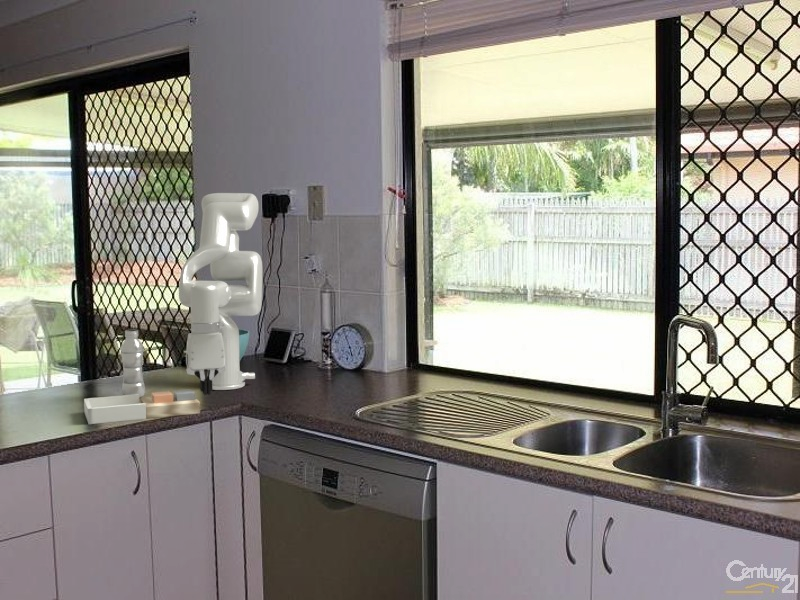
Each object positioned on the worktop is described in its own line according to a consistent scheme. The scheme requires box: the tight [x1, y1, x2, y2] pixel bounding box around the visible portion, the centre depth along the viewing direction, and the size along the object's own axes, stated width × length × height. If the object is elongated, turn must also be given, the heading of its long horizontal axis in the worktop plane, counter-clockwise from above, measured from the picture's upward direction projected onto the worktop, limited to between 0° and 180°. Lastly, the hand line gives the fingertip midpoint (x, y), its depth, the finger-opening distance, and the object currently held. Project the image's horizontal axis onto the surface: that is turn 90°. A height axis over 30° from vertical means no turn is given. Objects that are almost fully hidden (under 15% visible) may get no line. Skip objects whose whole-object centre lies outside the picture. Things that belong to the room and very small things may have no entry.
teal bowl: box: [238, 328, 250, 363], centre depth 304 cm, size 18×18×12 cm
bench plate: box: [139, 394, 201, 419], centre depth 241 cm, size 14×12×3 cm
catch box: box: [83, 394, 147, 425], centre depth 235 cm, size 14×13×4 cm
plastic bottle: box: [119, 329, 146, 398], centre depth 255 cm, size 6×7×20 cm
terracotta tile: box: [150, 390, 174, 403], centre depth 239 cm, size 5×5×2 cm
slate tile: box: [173, 388, 196, 401], centre depth 242 cm, size 5×5×2 cm
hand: (206, 393), depth 244 cm, fingers closed
